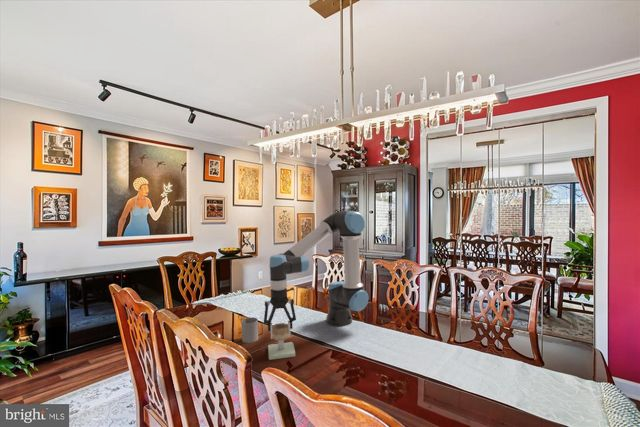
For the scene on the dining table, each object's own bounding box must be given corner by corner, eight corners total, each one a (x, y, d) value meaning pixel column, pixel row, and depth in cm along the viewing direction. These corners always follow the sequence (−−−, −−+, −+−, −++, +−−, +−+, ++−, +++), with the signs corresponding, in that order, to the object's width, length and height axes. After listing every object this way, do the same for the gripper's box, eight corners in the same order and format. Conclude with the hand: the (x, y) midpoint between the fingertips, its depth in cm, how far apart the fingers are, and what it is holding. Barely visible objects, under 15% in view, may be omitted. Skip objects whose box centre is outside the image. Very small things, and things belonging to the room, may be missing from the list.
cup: (254, 343, 155) (253, 323, 155) (239, 342, 157) (238, 323, 156) (260, 336, 163) (260, 317, 163) (246, 335, 165) (245, 317, 165)
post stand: (292, 345, 151) (292, 327, 151) (295, 356, 139) (294, 337, 139) (268, 348, 149) (267, 330, 149) (268, 359, 137) (268, 341, 137)
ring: (287, 332, 148) (287, 322, 148) (289, 339, 141) (289, 328, 141) (272, 334, 147) (271, 324, 147) (272, 341, 139) (272, 330, 139)
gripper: (299, 284, 149) (301, 331, 149) (256, 288, 145) (258, 335, 146) (301, 288, 142) (303, 337, 142) (256, 292, 138) (258, 342, 138)
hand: (280, 336), depth 144 cm, fingers closed on ring, 8 cm apart
